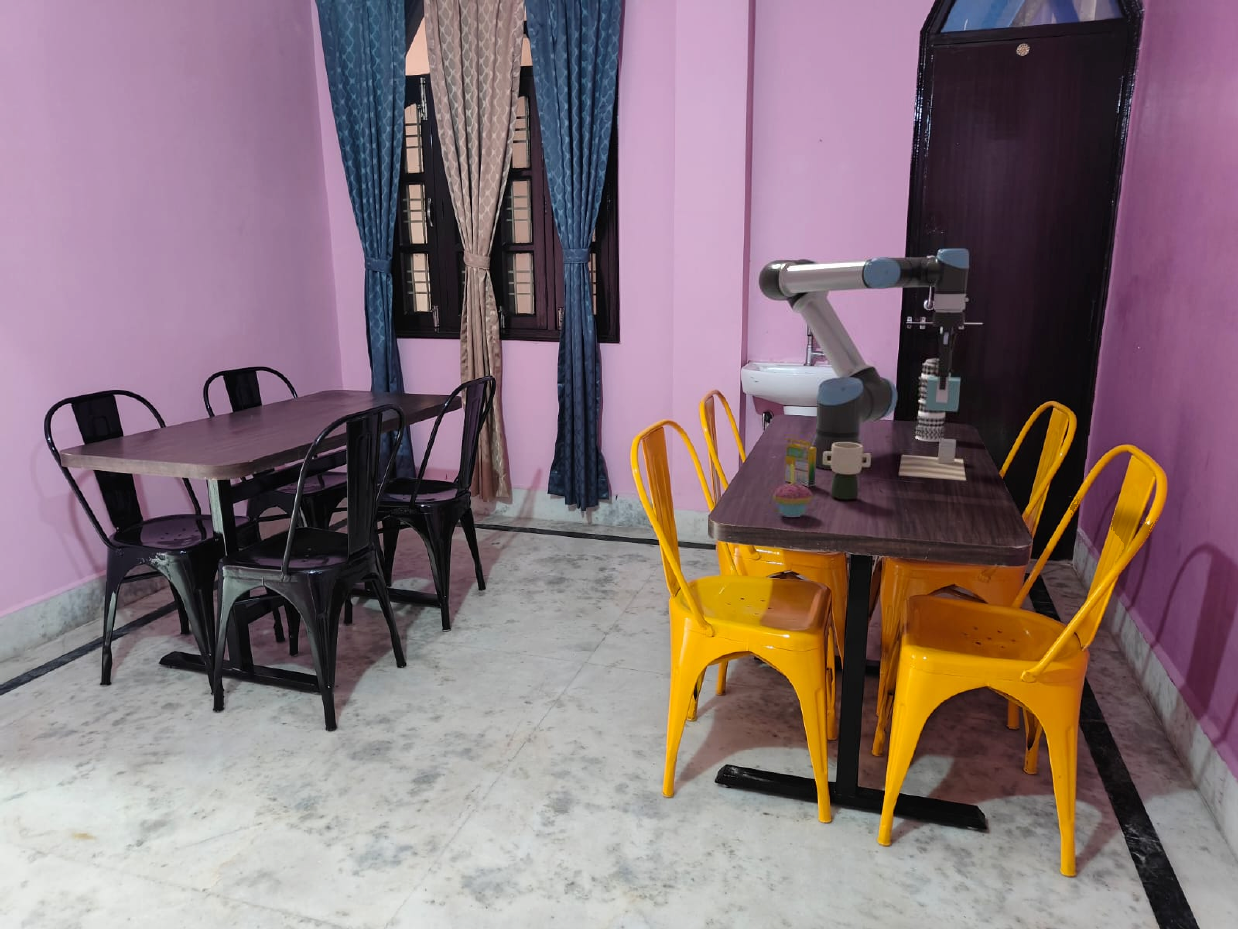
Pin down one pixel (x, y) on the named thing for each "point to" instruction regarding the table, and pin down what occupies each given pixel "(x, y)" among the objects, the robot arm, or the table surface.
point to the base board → (931, 468)
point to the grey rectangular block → (946, 451)
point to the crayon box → (800, 462)
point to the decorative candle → (929, 419)
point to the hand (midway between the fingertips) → (942, 399)
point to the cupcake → (792, 497)
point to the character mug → (846, 468)
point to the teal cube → (952, 395)
